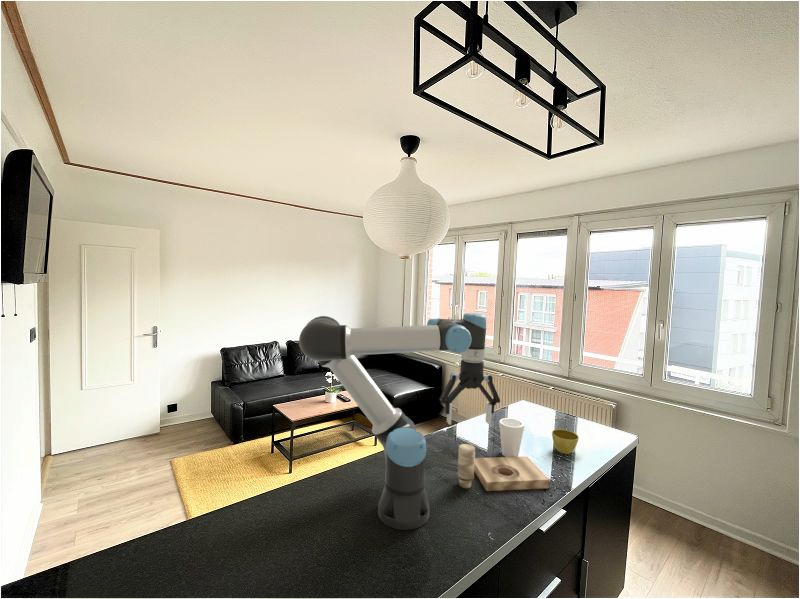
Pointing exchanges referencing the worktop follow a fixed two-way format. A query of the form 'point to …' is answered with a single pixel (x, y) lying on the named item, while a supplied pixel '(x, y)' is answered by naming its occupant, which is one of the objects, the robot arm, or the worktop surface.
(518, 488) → the board
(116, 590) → the worktop surface
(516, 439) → the foam cup
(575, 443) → the yellow bowl
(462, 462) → the peg
